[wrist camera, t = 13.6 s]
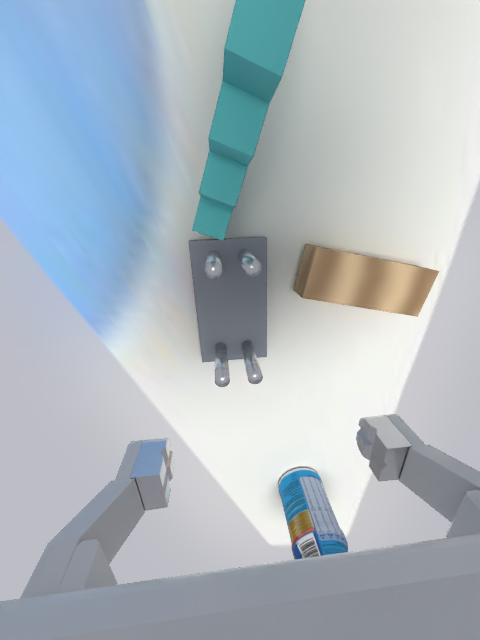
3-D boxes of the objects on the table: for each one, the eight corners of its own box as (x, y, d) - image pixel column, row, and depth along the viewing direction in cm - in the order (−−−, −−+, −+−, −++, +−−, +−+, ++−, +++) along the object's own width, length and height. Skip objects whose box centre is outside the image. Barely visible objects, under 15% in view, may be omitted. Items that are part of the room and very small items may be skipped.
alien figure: (219, 231, 30) (227, 252, 11) (201, 225, 29) (179, 236, 11) (281, 16, 23) (534, -746, 5) (259, 4, 23) (446, -887, 4)
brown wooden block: (415, 265, 34) (439, 271, 31) (396, 306, 36) (417, 316, 33) (305, 243, 32) (317, 247, 28) (292, 289, 34) (302, 297, 30)
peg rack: (189, 240, 30) (180, 248, 22) (264, 236, 31) (282, 243, 22) (202, 356, 36) (199, 398, 28) (264, 351, 37) (279, 390, 28)
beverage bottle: (321, 462, 47) (391, 622, 28) (318, 492, 50) (378, 653, 32) (277, 468, 46) (318, 634, 28) (276, 498, 49) (313, 664, 31)
